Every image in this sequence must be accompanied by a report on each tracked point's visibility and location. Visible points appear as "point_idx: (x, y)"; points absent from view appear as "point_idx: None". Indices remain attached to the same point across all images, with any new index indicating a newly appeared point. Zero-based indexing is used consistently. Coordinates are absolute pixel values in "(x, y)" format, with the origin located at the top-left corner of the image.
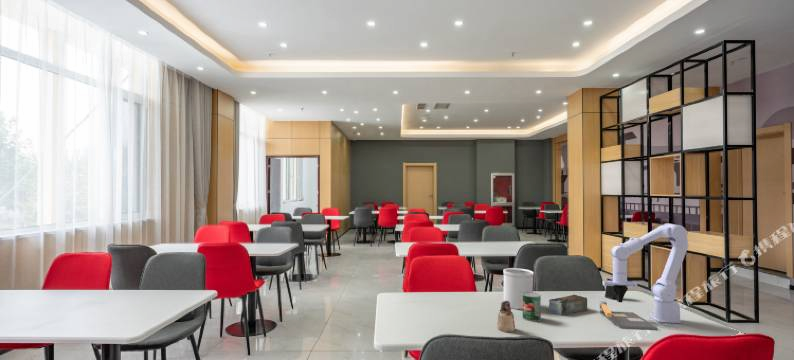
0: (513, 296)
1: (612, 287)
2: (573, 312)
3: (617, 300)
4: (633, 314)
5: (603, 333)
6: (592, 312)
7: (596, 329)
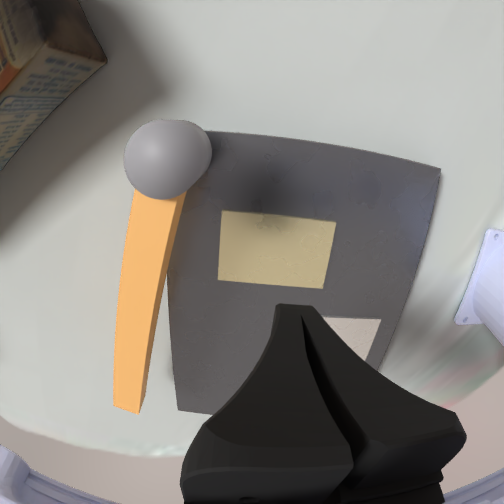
0: None
1: (208, 422)
2: (5, 164)
3: (275, 316)
4: (410, 222)
5: (99, 424)
6: (120, 119)
7: (79, 396)
